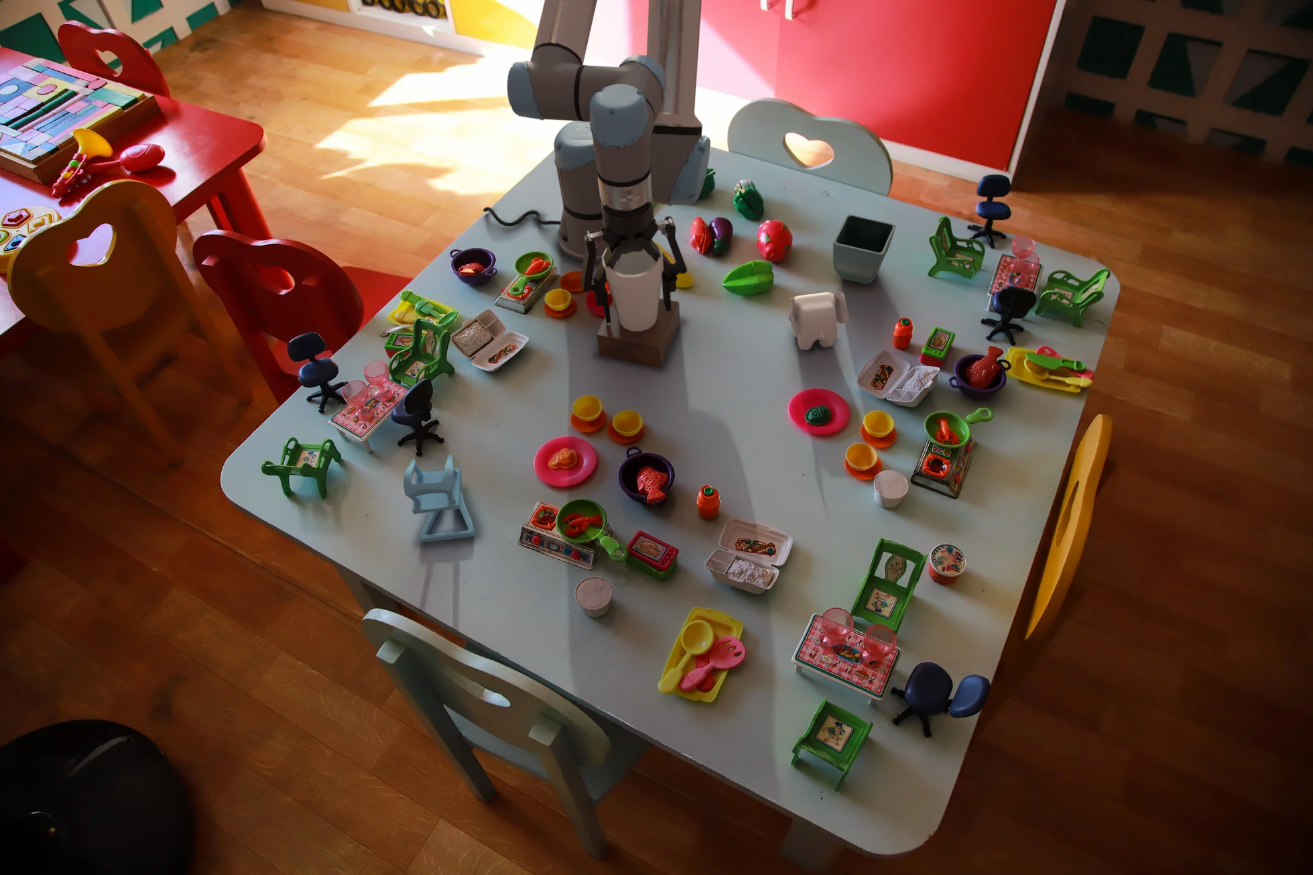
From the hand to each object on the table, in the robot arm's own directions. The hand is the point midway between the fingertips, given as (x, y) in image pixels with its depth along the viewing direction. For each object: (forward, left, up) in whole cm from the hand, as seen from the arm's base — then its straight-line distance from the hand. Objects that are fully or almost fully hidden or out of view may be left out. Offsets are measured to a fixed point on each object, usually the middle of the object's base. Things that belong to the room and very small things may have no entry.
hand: (637, 311), depth 136 cm
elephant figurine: (+28, +9, -7) cm, 30 cm away
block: (0, 0, -7) cm, 7 cm away
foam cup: (0, 0, -2) cm, 2 cm away
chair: (-16, -41, -7) cm, 45 cm away
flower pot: (+33, +26, -7) cm, 42 cm away
